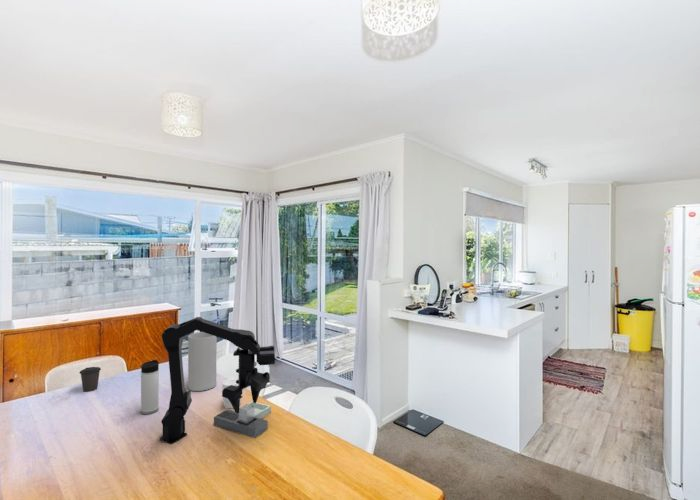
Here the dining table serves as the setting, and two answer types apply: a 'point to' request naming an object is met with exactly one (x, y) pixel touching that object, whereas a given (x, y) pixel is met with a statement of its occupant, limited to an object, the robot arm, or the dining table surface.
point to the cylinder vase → (201, 361)
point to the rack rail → (231, 422)
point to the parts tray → (261, 409)
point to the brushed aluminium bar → (246, 414)
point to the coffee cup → (90, 378)
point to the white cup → (226, 384)
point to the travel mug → (150, 387)
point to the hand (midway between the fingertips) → (246, 407)
